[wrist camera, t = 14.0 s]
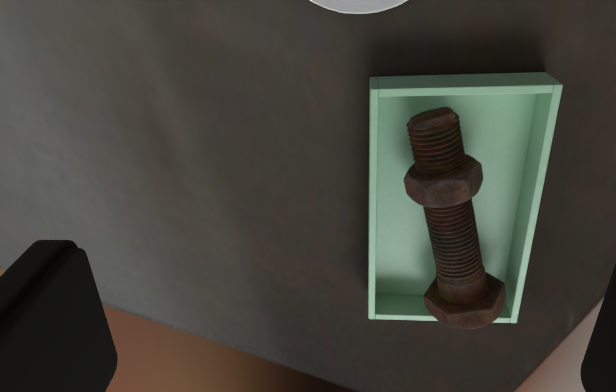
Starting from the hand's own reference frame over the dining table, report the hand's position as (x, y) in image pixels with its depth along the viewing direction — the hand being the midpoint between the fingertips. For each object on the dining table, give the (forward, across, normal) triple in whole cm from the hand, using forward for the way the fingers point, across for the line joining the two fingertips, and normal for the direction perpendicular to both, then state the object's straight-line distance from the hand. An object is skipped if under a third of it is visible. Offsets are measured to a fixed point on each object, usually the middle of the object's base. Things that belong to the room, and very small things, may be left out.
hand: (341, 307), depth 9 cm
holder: (+25, -7, +11) cm, 28 cm away
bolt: (+24, -8, +11) cm, 28 cm away
